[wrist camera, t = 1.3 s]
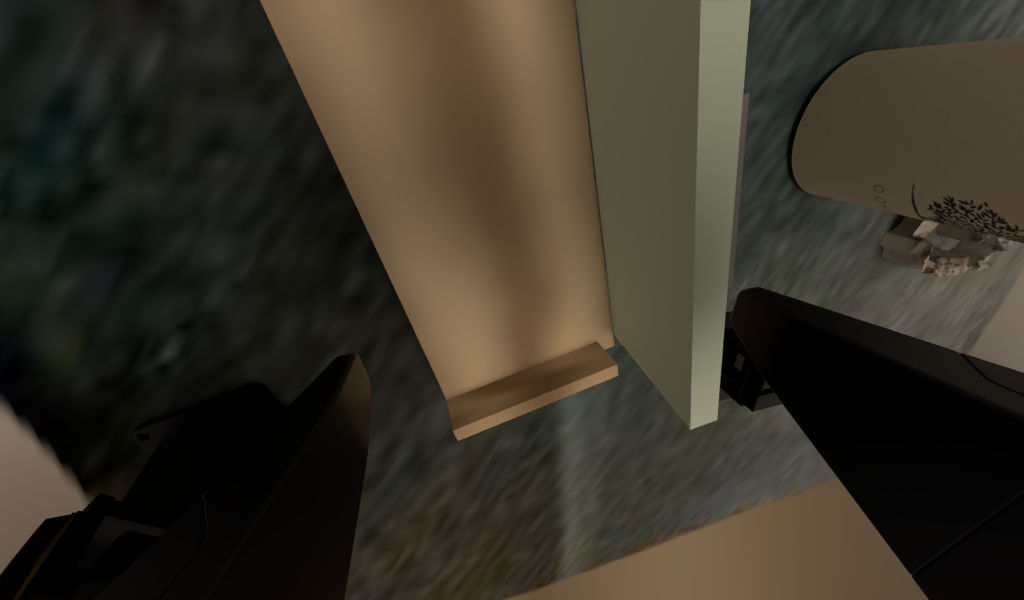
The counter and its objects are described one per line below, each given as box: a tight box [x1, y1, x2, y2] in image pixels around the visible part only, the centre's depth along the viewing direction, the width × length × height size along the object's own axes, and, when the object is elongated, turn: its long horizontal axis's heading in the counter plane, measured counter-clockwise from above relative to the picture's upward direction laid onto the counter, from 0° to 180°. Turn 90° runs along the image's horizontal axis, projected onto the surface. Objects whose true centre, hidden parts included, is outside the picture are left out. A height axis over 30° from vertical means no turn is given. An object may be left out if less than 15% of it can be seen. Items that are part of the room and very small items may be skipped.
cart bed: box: [260, 0, 618, 441], centre depth 17 cm, size 10×20×5 cm, turn 14°
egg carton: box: [880, 216, 1012, 277], centre depth 29 cm, size 11×8×4 cm
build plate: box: [719, 311, 782, 412], centre depth 29 cm, size 12×7×5 cm, turn 1°
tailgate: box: [576, 0, 751, 430], centre depth 14 cm, size 2×18×7 cm, turn 14°
